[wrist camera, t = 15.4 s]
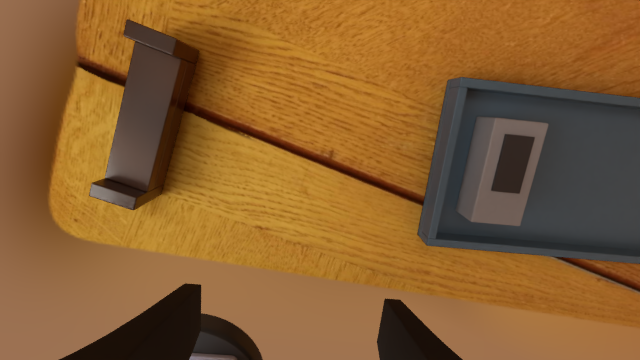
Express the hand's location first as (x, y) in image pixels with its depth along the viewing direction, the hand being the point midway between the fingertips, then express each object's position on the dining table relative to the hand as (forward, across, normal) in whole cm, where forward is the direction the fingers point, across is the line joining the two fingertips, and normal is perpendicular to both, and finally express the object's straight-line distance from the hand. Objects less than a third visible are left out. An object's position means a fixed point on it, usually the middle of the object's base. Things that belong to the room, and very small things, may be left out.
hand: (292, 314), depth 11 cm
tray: (+8, -21, -5) cm, 23 cm away
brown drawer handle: (+8, +9, -6) cm, 14 cm away
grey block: (+8, -11, -5) cm, 15 cm away
